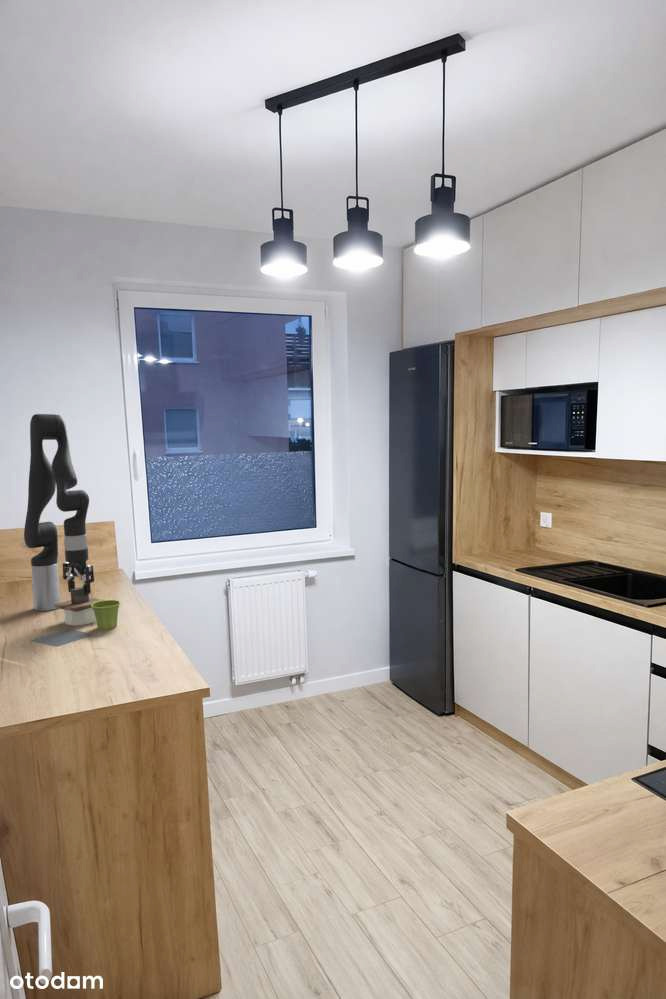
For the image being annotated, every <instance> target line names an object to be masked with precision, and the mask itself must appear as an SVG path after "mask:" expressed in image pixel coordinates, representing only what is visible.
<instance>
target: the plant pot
mask: <svg viewBox="0 0 666 999" xmlns="http://www.w3.org/2000/svg"><path fill="white" fill-rule="evenodd" d="M104 600H105V601H99V602H95V603H93V604H92V605H91V607H92V608H93V611H94V613H95V618H96V621H95V622H96V626H97V629H98V630H101V631H106V630H112V629H115V628H117V627H118V617H119V616H118V614H119V608H120V605H121V601H120V600H115V599H108V600H107V599H104Z"/></svg>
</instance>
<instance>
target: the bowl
mask: <svg viewBox="0 0 666 999" xmlns="http://www.w3.org/2000/svg"><path fill="white" fill-rule="evenodd" d="M63 610H64V609H63ZM64 620H65V623H64V624H65V625H69V626H80V625H81V626H83V625H88V624H92V623H95V622H96V618H95V613H94V611H93V608H88V609H85V610H81V611H78V612H74V611H69V610H64Z"/></svg>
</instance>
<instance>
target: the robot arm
mask: <svg viewBox="0 0 666 999" xmlns="http://www.w3.org/2000/svg"><path fill="white" fill-rule="evenodd" d="M29 436H30V437H29V440H30V444H29V445H30V460H29V461H30V462H29V472H28V473H29V474H28V488H27V489H28V490H27V491H28V492H27V494H28V496H27V510H26V516H25V522H24V523H25V524H24V530H23V540H24V543H25V545H26V547H27V548H28V549H29V548H30V549H37V548H43V549H42V550H41V551H40V552H39V553H38V554H35V555H34V556H33V557H31V559H30V566H31V576H32V577H31V578H32V585H31V589H32V602H33V609H34V610H35V611H37V612H48V611H54V610H57V609H59V608H55V604H58V603H62V602H61V588H60V579H59V578H60V577H59V576H60V575H59V565H58V564H59V563H58V558H59V548H58V546H59V540H58V537H59V536H58V535H59V534H58V529H57V526H56V524H55V523H54V522H52V521H42V522H40V519H41V516H42V513H43V511H44V509H45V508H46V507H47V505H48V504H49V503H50V501H51V500H52V498H53V497H54V495H55V492H56V498H55V499H56V502H55V503H56V507H57V508H58V510H60V511H62V512H64V513H66V512H76V513H75V514H74V515H73V516H71V517H68V518H66V519H64V521H63V533H64V538H63V539H64V540H63V541H64V543H63V546H64V555H65V556H64V557H65V558H64V559H65V562H63V563H62V579H63V580H65V581H66V582H67V587H68V588H67V589H68V592H69V593H71V590H70V589H74V588H76V582H75V579H76V577H77V578H79V579H78V580H81V582H82V584H83V585H82V586H83V590H84V595H88V594H89V595H91V583H94V582H95V575H94V574H95V573H94V567H93V564H89V565H88V564H87V562H88V560H89V546H88V545H89V543H88V538H87V528H86V520H87V515H88V514H87V513H88V510H89V505H90V496H89V494H88V493H87V492H86V491H85V490H83V489H76V490H70V489H73V488H74V487H76V486H77V484H78V478H77V474H76V472H75V471H76V470H75V469H74V466H73V462H72V457H71V453H70V452H71V451H70V445H69V444H70V442H69V438H68V432H67V427H66V423H65V420H64V418H63V416H61V415H60V414H56V413H55V414H52V413H50V414H49V413H36V414H33V415H32V416H31V418H30V423H29ZM47 440H48V441H50V440H51V441H52V440H53V441H56V442H57V449H56V452H55V454H54V457H53V459H52V461H51V462H50V460H49V459H48V458H47V456H46V454H45V451H44V445H43V441H47Z"/></svg>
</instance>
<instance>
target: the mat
mask: <svg viewBox="0 0 666 999" xmlns="http://www.w3.org/2000/svg"><path fill="white" fill-rule="evenodd" d="M94 635H95V633H90V632H86V631H81V630H76V629H73V628H65V629H63V630H59V631H55V632H52V633H50V634H46V635H42V636H40V637H36V638H32V639H30V641H31V642H35V643H38V644H39V643H40V644H43V645H48V646H52V647H55V648H56V647H61V646H63V645H66V644H71V643H74V642H76V641H79V640H81V639H85V638H88V637H91V636H94Z"/></svg>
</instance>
